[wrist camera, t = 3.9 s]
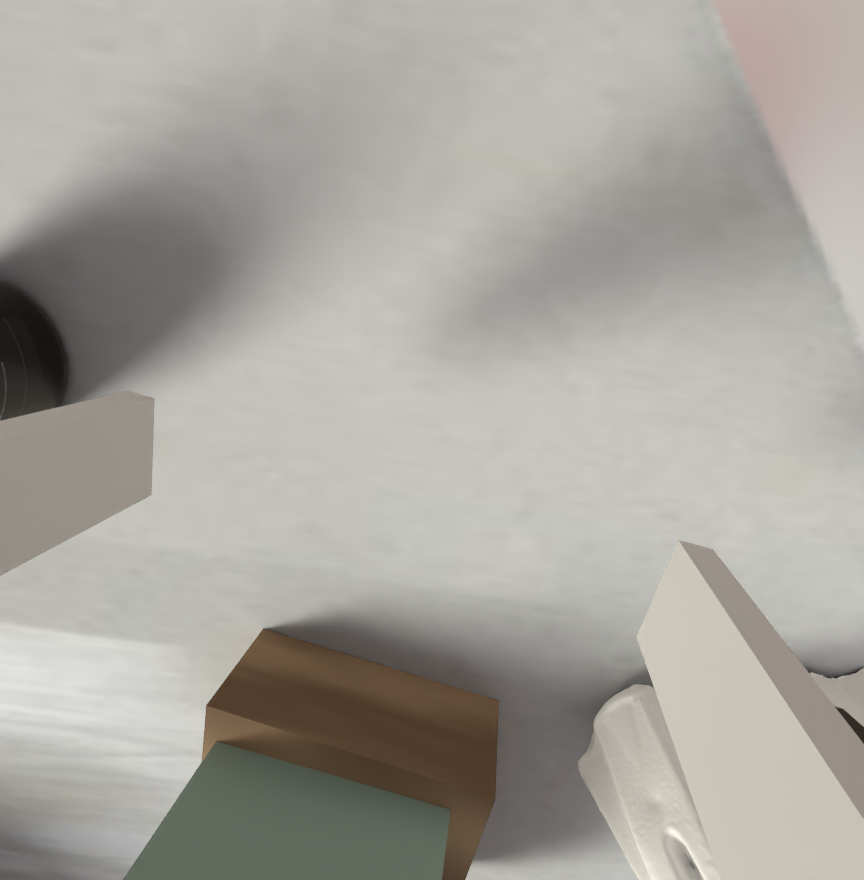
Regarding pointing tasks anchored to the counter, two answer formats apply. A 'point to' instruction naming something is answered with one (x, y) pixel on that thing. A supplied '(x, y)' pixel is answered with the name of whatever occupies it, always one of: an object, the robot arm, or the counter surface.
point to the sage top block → (290, 827)
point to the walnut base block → (365, 730)
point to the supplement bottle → (28, 356)
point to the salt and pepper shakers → (662, 781)
